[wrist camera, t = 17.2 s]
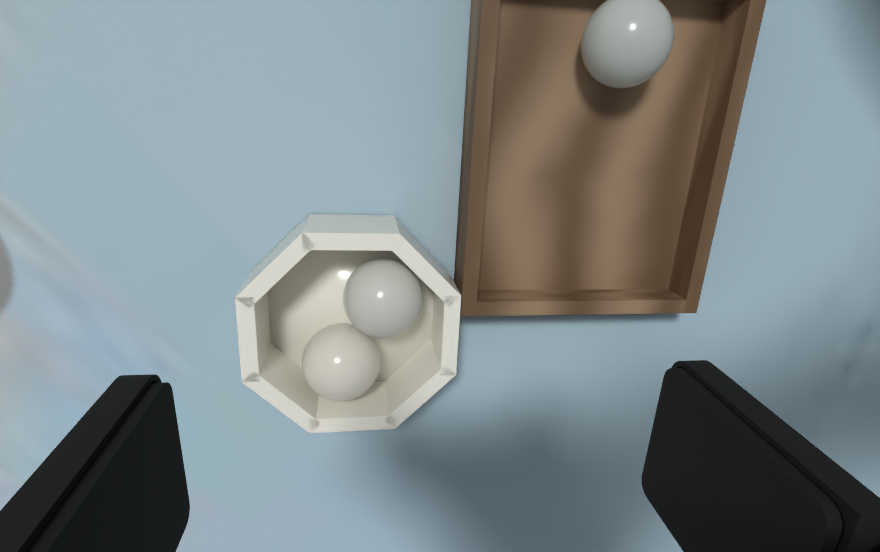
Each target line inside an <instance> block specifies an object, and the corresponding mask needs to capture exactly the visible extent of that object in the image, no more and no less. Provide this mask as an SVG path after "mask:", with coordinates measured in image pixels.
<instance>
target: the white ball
mask: <svg viewBox="0 0 880 552" xmlns="http://www.w3.org/2000/svg"><path fill="white" fill-rule="evenodd" d="M343 305H344V309H345V312H346V315H347V317H348V319H349V320H350V322H351V323H352V324H353V325H354V326H355V327H356V328H357V329H358V330H359V331H361V332H362V333H364V334H366V335H369V336H372V337H376V338H390V337H394V336H397V335H400V334H402V333H403V332H405V331H407V330H408V329H409V328H410V327H411V326H412V325H413V324H414V323H415V321H416V320H417V318H418V317H419V315H420V312H421V309H422V305H423V291H422V287H421V284H420V282H419V280H418V278H417V276H416V275H415V274H414V272H413V271H412V270H411V269H410V268H408V267H407V266H406V265H404V264H403V263H401V262H398V261H396V260H392V259H384V258H383V259H375V260H371V261H368V262H366V263H364V264H362V265H360V266H359V267H358V268H357V269H356V270H355V271H354V272H353V273H352V274H351V275H350V277H349V278H348V280H347V282H346V285H345V288H344V292H343Z"/></svg>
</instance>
